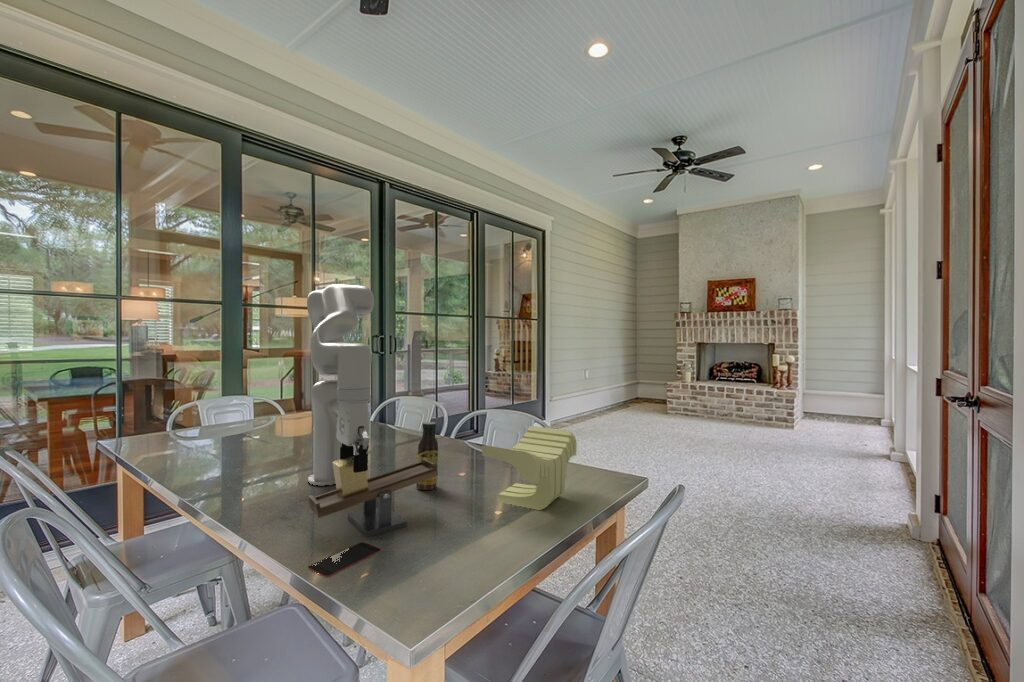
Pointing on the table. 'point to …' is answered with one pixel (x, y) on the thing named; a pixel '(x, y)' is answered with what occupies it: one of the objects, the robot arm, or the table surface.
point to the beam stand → (377, 516)
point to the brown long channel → (374, 487)
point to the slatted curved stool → (536, 466)
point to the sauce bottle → (428, 453)
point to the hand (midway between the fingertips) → (353, 466)
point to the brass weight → (348, 478)
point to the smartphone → (345, 559)
